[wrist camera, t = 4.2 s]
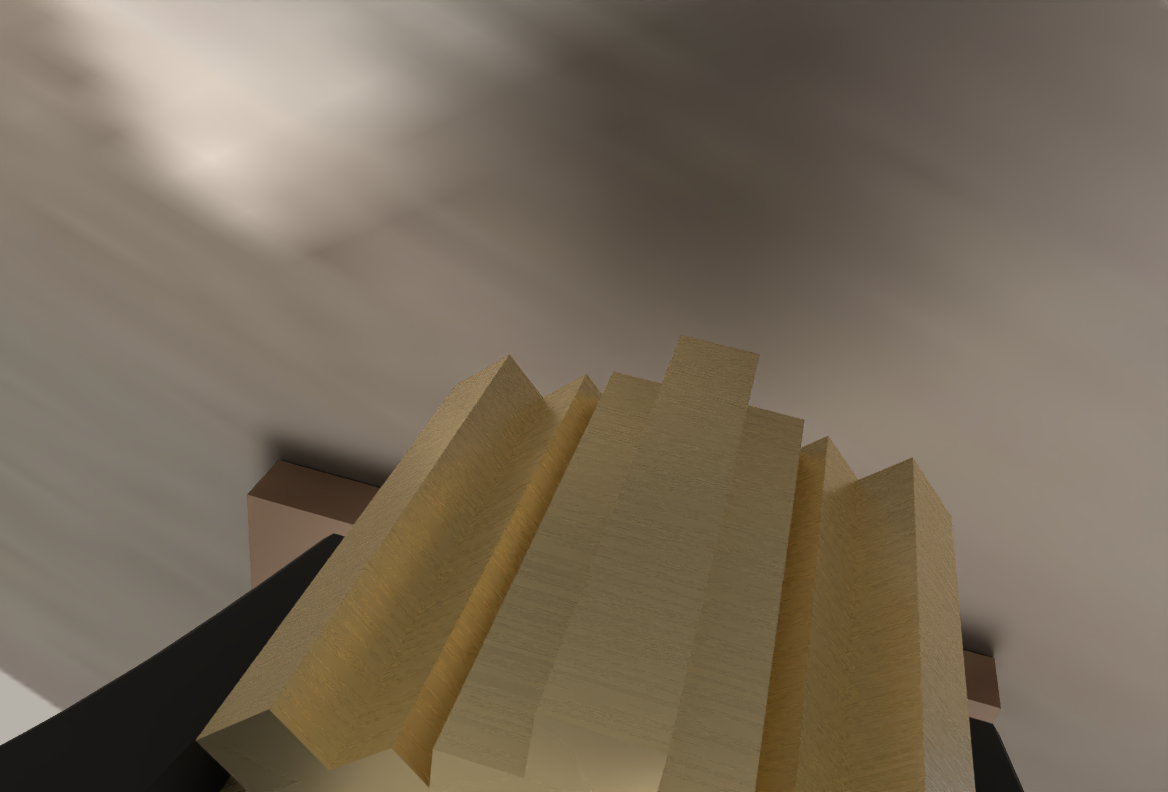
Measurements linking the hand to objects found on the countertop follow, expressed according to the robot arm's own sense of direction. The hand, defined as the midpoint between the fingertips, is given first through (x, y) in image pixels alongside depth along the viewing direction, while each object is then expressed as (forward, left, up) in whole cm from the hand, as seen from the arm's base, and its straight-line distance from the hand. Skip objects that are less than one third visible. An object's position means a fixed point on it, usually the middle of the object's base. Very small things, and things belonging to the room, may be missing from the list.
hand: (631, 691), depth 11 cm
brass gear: (0, 0, -2) cm, 2 cm away
